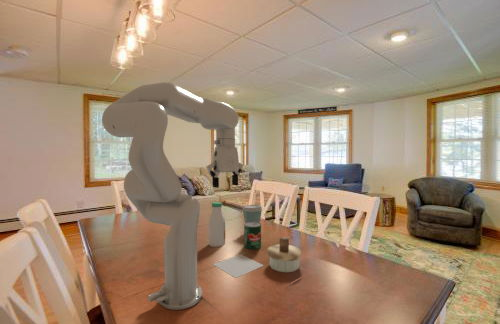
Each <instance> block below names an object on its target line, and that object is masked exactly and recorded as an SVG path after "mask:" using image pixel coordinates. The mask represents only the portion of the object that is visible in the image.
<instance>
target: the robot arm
mask: <svg viewBox="0 0 500 324" xmlns="http://www.w3.org/2000/svg"><path fill="white" fill-rule="evenodd" d="M168 116H170V117H174V118H177V119H180V120H182V121H185V122H188V123H194V124H200V126H201V127H202V128H203V129H205V130H209V131H210V130H211V131H213V130H215V140H213V144H215V147H214V151H213V159H212V160H213V161H212V162H211V163H209V164H208V165H206V169H207V170H206V171H207V172H208V174H209V175H210V177H212V187H213V188H217V189H218V188H219V187H220V184H219V183H220V177H219V175H220V174H221V173H232V175H231V184H232V185H233V186H238V185H239V176H240V174H241V172H242V169H243V166H244V165H243V164H242V163H241V162H240V161H239V160H240V159H239V151H238V148H237V146H236V127H237V126H238V124H239V114H238V112H237V111H236V109H235V108H234V107H233V106H231V105H230V104H228V103H226V102H222V101H218V100H214V99H209V98H206V97H200V96H198V95H195V94H193V93H192V92H190V91H189V90H186V89H185V88H183V87H180V86H179V85H177V84H174V83H172V82H156V83H151V84H150V83H149V84H148V83H147V84H143V85H140V86H138V87H136V88H134V89H132V90H131V91H129V92H128V93H126V94H125V95H123V96H121V97H120V98H118V99H116V100H115V101H114V102H112V103H111V104H109V105H108V106H107V107H106V108H105V109H104V111H103V113H102V117H101V122H102V126H103V128H104V130H105V131H106V132H107V133H109V135H111V136H114V137H117V138H131V142H130V143H131V144H130V148H129V150H128V163H129V166H130V168H131V169H130V170H129V171H128V172H127V173H126V175H125V176H124V180H123V189H124V193H125V196H126V198H127V199H128V200H129V201H130V203H131V204H132V205H133V207H135V208H136V210H137V211H138V213H140V215H142V216H143V218H144V219H146V220H147V221H148V222H150V223H153V224H159V225H163V226H164V225H165V226H170V229H169V230H168V232H167V234H166V236H165V238H164V243H163V252H164V257H163V259H164V262H163V263H164V284H161V288H160V289H159V290H158V291H156V292H153V293H151V294H148V295H147V300H148V302H149V303H152V302H154V301H155V302H156V304H160V306H161V307H163V308H164V309H168V310H172V311H174V310H175V311H176V310H177V311H178V310H184V309H185V310H186V309H188V308H191V307H194V306H195V305H196V304H198V303H199V302H200V301H201V299H202V298H203V293H204V292H203V289H202V287H201V286H200V285H198V227H199V226H198V225H199V218H200V215H201V205H200V201H199V200H198V199H197V198H196V197H195V196H193V195H190V194H185V193H182V189H183V188H182V183H181V180H180V178H179V176H178V174H177V172H176V171H175V169H174V168H173V166H172V164H171V163H170V161H169V159H168V158H167V156H166V154H165V151H164V141H165V140H164V139H165V136H166V132H167V128H168V123H169V122H168V121H169V118H168Z"/></svg>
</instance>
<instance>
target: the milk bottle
mask: <svg viewBox="0 0 500 324" xmlns="http://www.w3.org/2000/svg"><path fill="white" fill-rule="evenodd" d="M222 205H223V203H222V202H220V201H215V202H211V208H212V209H211V213H210V215H209V218H208V219H209V220H208V244H209V247H211V248H214V247H221V246H225V244H226V220H225V219H226V218H225V216H224V212H223V209H222V208H223V207H222Z"/></svg>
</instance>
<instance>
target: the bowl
mask: <svg viewBox="0 0 500 324" xmlns="http://www.w3.org/2000/svg"><path fill="white" fill-rule="evenodd" d="M269 267H270V268H271V269H272V270H274V271H276V272H280V273H291V272H295V271H297V270H299V268H300V258H299V259H297V260H294V261H279V260H275V259H272V258H270V257H269Z"/></svg>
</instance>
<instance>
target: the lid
mask: <svg viewBox="0 0 500 324" xmlns="http://www.w3.org/2000/svg"><path fill="white" fill-rule="evenodd" d="M266 254H267V256H268V257H269V259H270V258H272V259H275V260H279V261H294V260H297V259H299V260H300V258H301V257H302V250H301V249H300V248H299V247H297V246H294V245H292V244H291V245H290V238H289V237H286V236H280V237H279V243H278V244H274V245H270V246H269V247H268V248H267V250H266Z"/></svg>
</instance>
